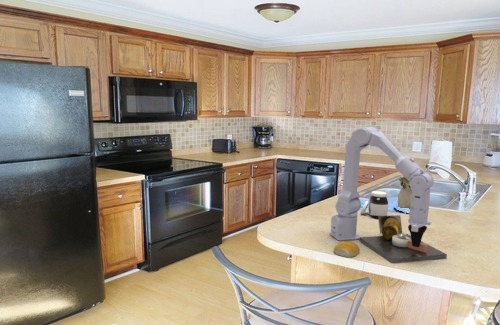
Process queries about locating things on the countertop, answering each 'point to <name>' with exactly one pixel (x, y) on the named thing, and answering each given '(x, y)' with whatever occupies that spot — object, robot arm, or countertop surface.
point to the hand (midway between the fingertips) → (415, 246)
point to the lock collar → (408, 243)
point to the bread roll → (346, 249)
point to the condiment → (390, 226)
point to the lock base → (400, 250)
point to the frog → (404, 194)
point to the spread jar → (377, 204)
